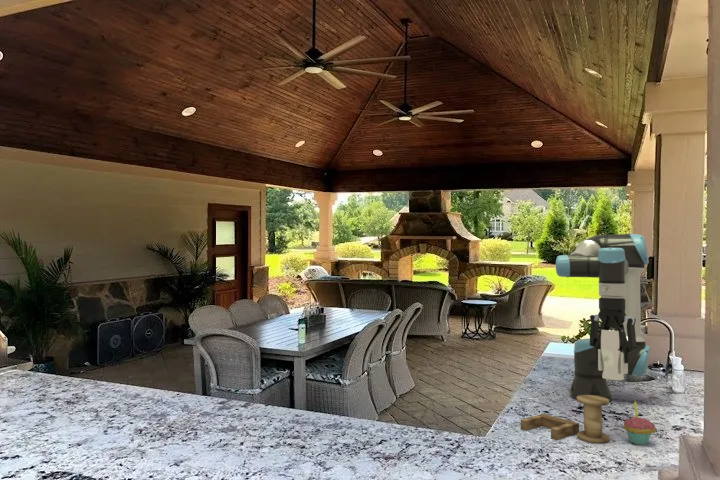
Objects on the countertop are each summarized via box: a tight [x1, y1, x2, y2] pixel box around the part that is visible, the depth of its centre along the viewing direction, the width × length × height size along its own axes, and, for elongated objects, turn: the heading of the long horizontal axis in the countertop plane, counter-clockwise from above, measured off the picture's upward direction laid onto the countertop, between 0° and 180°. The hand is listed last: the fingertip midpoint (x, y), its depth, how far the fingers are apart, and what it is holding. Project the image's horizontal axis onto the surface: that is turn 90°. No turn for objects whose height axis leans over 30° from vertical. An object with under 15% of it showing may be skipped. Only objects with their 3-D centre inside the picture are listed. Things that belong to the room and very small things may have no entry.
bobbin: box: [576, 395, 611, 445], centre depth 163 cm, size 9×9×12 cm
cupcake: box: [622, 401, 656, 446], centre depth 160 cm, size 9×8×12 cm
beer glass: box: [600, 327, 625, 381], centre depth 166 cm, size 7×7×15 cm
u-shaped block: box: [520, 413, 580, 441], centre depth 169 cm, size 12×13×3 cm
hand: (612, 371), depth 166 cm, fingers closed on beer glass, 6 cm apart
